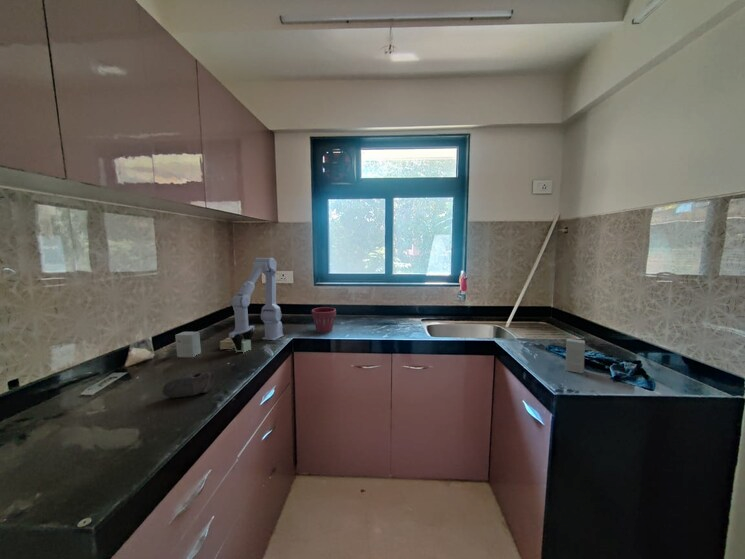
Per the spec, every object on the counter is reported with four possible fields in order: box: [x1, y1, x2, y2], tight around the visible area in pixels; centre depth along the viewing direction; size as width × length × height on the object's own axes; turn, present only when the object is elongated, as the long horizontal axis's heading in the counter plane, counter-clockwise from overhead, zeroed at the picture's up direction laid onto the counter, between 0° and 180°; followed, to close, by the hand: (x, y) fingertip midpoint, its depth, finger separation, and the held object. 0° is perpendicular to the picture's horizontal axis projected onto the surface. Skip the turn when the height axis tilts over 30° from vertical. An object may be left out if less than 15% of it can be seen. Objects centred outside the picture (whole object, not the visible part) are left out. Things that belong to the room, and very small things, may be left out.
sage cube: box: [234, 338, 252, 354], centre depth 143 cm, size 5×5×5 cm
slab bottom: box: [219, 345, 235, 350], centre depth 148 cm, size 6×6×2 cm
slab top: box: [219, 337, 235, 347], centre depth 149 cm, size 6×6×2 cm
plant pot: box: [311, 306, 337, 334], centre depth 177 cm, size 14×14×13 cm
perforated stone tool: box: [162, 371, 215, 399], centre depth 100 cm, size 15×5×7 cm, turn 111°
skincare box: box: [564, 338, 586, 374], centre depth 117 cm, size 6×4×12 cm
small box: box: [174, 331, 202, 358], centre depth 138 cm, size 8×6×10 cm
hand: (243, 348), depth 144 cm, fingers closed on sage cube, 5 cm apart
